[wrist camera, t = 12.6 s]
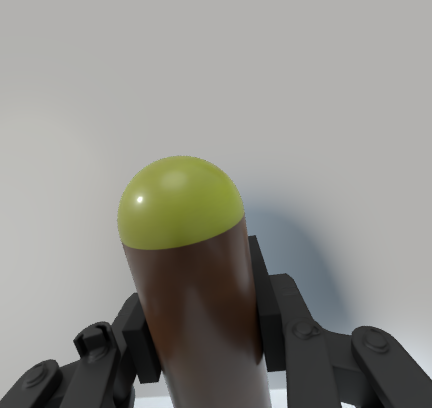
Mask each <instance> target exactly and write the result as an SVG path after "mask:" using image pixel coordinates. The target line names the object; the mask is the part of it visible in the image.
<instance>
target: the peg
mask: <svg viewBox="0 0 432 408" xmlns="http://www.w3.org/2000/svg"><path fill="white" fill-rule="evenodd" d="M117 221H118V231H119V235H120V238H121V242H122V245H123V248H124V251H125V255H126V258H127V261H128V264H129V267H130V270H131V273H132V276H133V280H134V283H135V286H136V289H137V293H138V296H139V299H140V302H141V305H142V308H143V312H144V315H145V318H146V321H147V324H148V327H149V331H150V334H151V337H152V340H153V343H154V346H155V350H156V353H157V356H158V359H159V362H160V365H161V369H162V371H163V374H164V378H165V381H166V384H167V387H168V391H169V394H170V397H171V400H172V403H173V407H174V408H272V406H271V399H270V392H269V384H268V377H267V370H266V363H265V356H264V350H263V343H262V336H261V329H260V322H259V315H258V308H257V300H256V291H255V284H254V277H253V270H252V263H251V255H250V248H249V241H248V235H247V227H246V220H245V212H244V207H243V202H242V199H241V196H240V194H239V192H238V190H237V188H236V186H235V184H234V183H233V182H232V180H231V179H230V178H229V177H228V176H227V174H226V173H224V172H223V171H222V170H221V169H220V168H218V167H217V166H215V165H214V164H212V163H210V162H208V161H206V160H203V159H200V158H196V157H190V156H173V157H167V158H163V159H160V160H158V161H155V162H153V163H151V164H150V165H148V166H146V167H145V168H143V169H142V170H141V171H139V172H138V173H137V174H136V175H135V176H134V177H133V179H132V180H131V181H130V183H129V184H128V185H127V187H126V189H125V191H124V192H123V195H122V198H121V200H120V204H119V209H118V219H117Z"/></svg>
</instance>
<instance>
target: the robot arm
mask: <svg viewBox="0 0 432 408" xmlns="http://www.w3.org/2000/svg"><path fill="white" fill-rule="evenodd" d="M248 241H249V248H250V255H251V263H252V270H253V277H254V284H255V291H256V300H257V308H258V315H259V322H260V329H261V336H262V343H263V350H264V356H265V361H266V367H267V372H275V371H285V370H286V379H287V406H288V408H342V406H341V402H343V403H347V404H351V405H354V406H355V407H356V408H432V380H431V379H430V377H429V376H428V375H427V374H426V373H425V372H424V371H423V369H422V368H421V367H420V366H419V365H418V364H417V363H416V361H415V360H414V359H413V358H412V357H411V356H410V355H409V353H408V352H407V351H406V350H405V349H404V348H403V347H402V345H401V344H400V343H399V342H398V341H397V340H396V339H395V338H394V337H393V336H391V335H390V334H389V333H387V332H385V331H383V330H381V329H379V328H375V327H372V326H361V327H358V328H356V329H355V330H354V331H353V332H352V335H345V334H338V333H334V332H330V331H328V330H326V329H324V328H322V327H321V326H320V325H319V324H318V323H317V322H316V321H314V319H313V318H312V316H311V314H310V312H309V310H308V308H307V306H306V304H305V302H304V300H303V298H302V296H301V294H300V292H299V289H298V288H297V285H296V283H295V281H294V279H292V278H291V277H290V276H289V275H287V274H286V273H285V274H277V275H268V272H267V269H266V266H265V263H264V259H263V256H262V254H261V251H260V248H259V244H258V241H257V238H256V236H255V235H254V236H248ZM73 342H74V344H75V346H76V348H77V351H78V353H79V355H80V357H81V358H80V360H78V361H75V362H73V363H70V364H68V365H65V366H63V367H59V365H58V363H57V362H56V360H51V359H50V360H46V361H43V362H41V363H39V364H37V365H35V366H33V367H32V368H31V369H29V370H28V371H27V372H25V374H23V375H22V376H21V378H19V380H18V381H17V382H16V383H15V384H14V385H13V387H12V388H11V389H10V390H9V391H8V392H7V394H6V395H5V396H4V397H3V398H2V400H1V401H0V408H133V407H134V401H135V389H134V387H133V383H134V380H135V377H136V375H138V378H139V381H140V384H142V383H143V384H144V383H154V382H158V381H159V378H160V374H161V371H162V369H161V365H160V362H159V359H158V356H157V353H156V350H155V346H154V343H153V340H152V337H151V334H150V331H149V327H148V324H147V321H146V318H145V315H144V312H143V308H142V305H141V302H140V299H139V296H138V293H133V294H132V295H131V296H130V297H129V298H128V299H127V300H126V302H125V303H124V305H123V307H122V310H120V312H119V313H118V316H117V317H116V318H115V320H114V322H113V324H112V325H110V324H109V323H108V322H97V323H95V324H92V325H90V326H88V327H87V328H85V329H84V330H83V331H81V332H80V333H79V334H78V335H77V336H76V338H75V339H74V340H73Z"/></svg>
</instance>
